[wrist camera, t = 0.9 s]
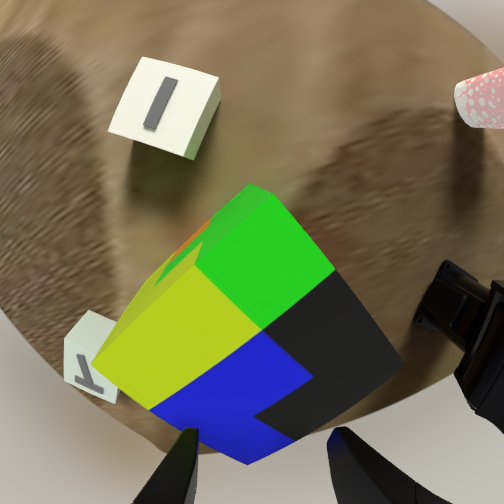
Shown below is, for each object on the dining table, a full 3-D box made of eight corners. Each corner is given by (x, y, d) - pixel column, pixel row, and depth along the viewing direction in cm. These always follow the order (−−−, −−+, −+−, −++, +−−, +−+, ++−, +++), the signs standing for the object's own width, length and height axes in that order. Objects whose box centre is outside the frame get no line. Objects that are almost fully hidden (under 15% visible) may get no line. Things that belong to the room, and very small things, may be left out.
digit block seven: (138, 330, 20) (121, 366, 16) (129, 369, 21) (114, 405, 17) (89, 309, 20) (63, 339, 15) (84, 349, 21) (63, 381, 16)
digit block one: (221, 99, 16) (218, 76, 12) (193, 160, 17) (182, 156, 13) (160, 80, 16) (141, 55, 11) (133, 139, 17) (106, 130, 12)
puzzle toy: (239, 363, 22) (247, 465, 12) (145, 280, 19) (90, 364, 10) (337, 286, 21) (405, 364, 11) (249, 183, 18) (273, 194, 9)
